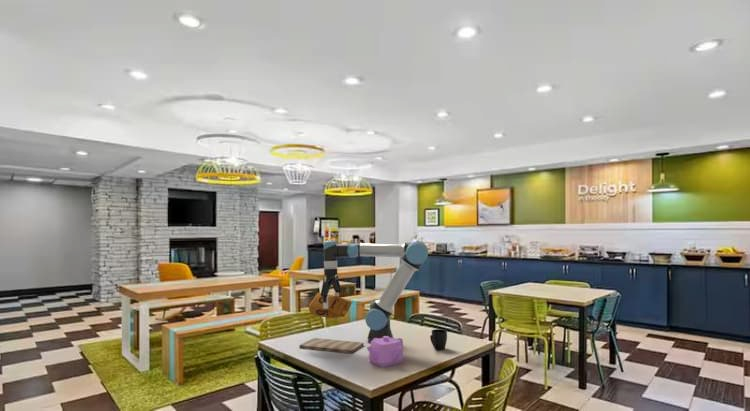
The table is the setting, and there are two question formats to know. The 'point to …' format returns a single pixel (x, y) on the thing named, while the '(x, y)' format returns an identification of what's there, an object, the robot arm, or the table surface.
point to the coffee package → (329, 306)
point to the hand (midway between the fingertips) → (331, 306)
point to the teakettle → (386, 351)
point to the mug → (439, 339)
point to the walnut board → (332, 345)
